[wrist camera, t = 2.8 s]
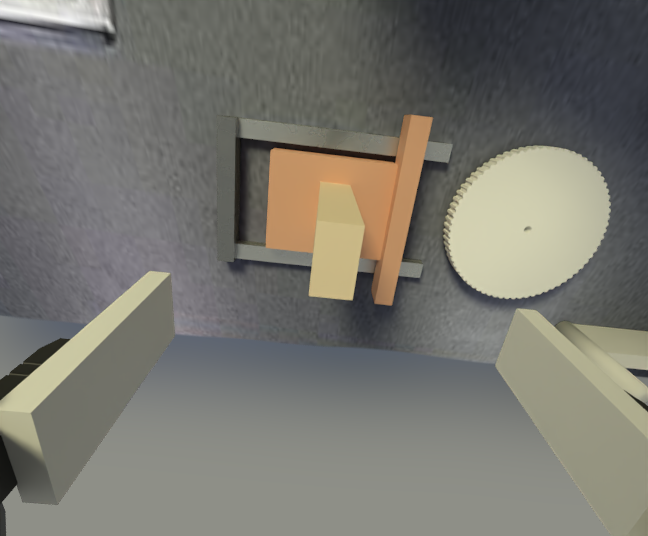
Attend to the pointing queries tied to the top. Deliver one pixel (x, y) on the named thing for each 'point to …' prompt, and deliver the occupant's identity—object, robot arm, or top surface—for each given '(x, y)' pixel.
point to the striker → (347, 211)
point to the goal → (612, 352)
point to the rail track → (238, 128)
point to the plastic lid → (526, 221)
